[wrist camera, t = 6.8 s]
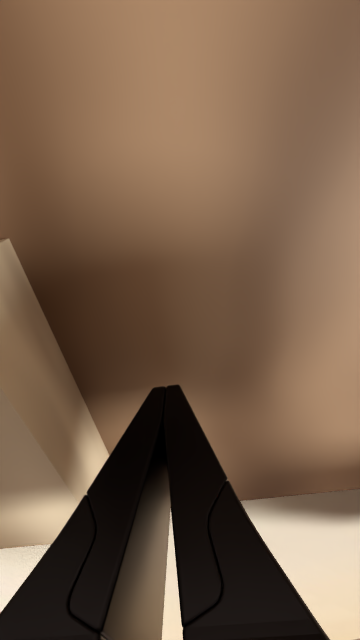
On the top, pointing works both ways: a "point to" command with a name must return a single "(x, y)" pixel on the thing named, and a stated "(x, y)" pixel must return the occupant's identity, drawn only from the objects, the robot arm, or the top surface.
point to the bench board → (196, 217)
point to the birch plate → (38, 420)
